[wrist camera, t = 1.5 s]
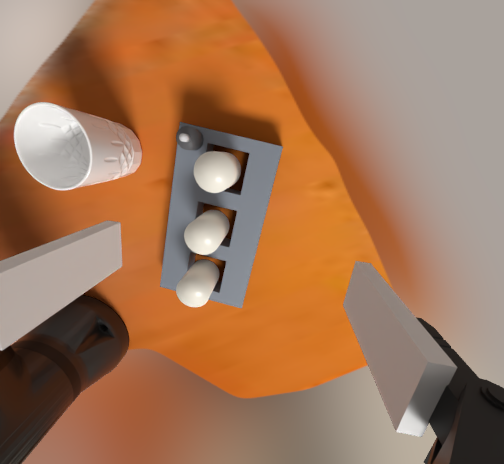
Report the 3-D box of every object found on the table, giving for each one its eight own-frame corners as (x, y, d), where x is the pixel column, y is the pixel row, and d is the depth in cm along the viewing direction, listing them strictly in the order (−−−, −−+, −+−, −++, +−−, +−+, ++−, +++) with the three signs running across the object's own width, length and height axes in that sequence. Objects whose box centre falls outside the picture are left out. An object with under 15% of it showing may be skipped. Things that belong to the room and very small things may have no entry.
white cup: (82, 124, 32) (-1, 111, 22) (137, 112, 31) (73, 93, 21) (102, 184, 34) (34, 195, 25) (154, 175, 33) (103, 183, 24)
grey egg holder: (169, 276, 37) (148, 299, 32) (189, 125, 30) (167, 117, 25) (244, 296, 37) (237, 323, 31) (282, 147, 30) (283, 145, 24)
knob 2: (205, 182, 29) (190, 187, 25) (210, 148, 28) (196, 146, 23) (237, 190, 29) (228, 197, 25) (244, 156, 28) (237, 156, 23)
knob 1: (189, 281, 34) (174, 302, 29) (193, 256, 33) (178, 273, 28) (216, 289, 34) (206, 310, 29) (222, 263, 32) (212, 282, 28)
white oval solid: (196, 235, 32) (181, 249, 27) (201, 206, 30) (186, 215, 26) (226, 243, 31) (216, 258, 27) (232, 213, 30) (223, 224, 25)
